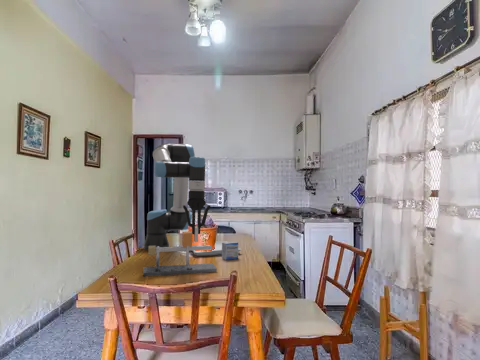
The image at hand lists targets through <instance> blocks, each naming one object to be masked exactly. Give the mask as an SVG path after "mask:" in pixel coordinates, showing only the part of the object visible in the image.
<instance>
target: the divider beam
mask: <svg viewBox="0 0 480 360" xmlns="http://www.w3.org/2000/svg"><path fill="white" fill-rule="evenodd" d="M193 250H211V246H210V245H206V246H192V247H189V252H190V251H192V252H193ZM147 251H148V254H147V255H148V256H156V258H155V260H156V261H155V262H156V263H155V266H156V268H157V269H158V268H159V266H160V253H163V252H164V253H165V252H166V253H167V252H186V247H183V245H182V246H169V247H159V246H157V247H156V246H149V248H148V250H147Z"/></svg>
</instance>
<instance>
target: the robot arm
mask: <svg viewBox="0 0 480 360" xmlns="http://www.w3.org/2000/svg"><path fill="white" fill-rule="evenodd" d="M194 149H195V148H194V146H193V145H192V144H187V143H171V142H170V143H169V142H167V143H162V144H159V145H157V146H156V147H155V148H154V149H153V151H152V157H153V160H154V169H153V171H154V176H155V177H157V178H173V181H174V182H173V185H174V186H173V205H172V207H171V208H170V211H168V210H167V209H165V208H164V209H155V210H151V211H149V212H148V213H147V216H146V220H147V223H146V224H147V225H146V238H145V241H144V243H143V249H144V250H146V251H148V248H149V246H156V247H157V246H159V247H170V243H169V239H168V236H167V231H187V230H188V226H190V227H191V232H192V235H193V241H194V243H195V242H199V235H201V229H202V227H203V226H205V224H206V220H207V217H208V214H209V213H208V212H209V210H210V208H211V205H210V204H207V203H206V198H205V197H206V192H205V190H206V159H205V157H203V156H196V155H195V150H194ZM203 208H205V209H204V212H203V216H202V210H203ZM190 210H191V211H190ZM196 211H197V220H196ZM201 219H202V220H201ZM196 221H197V222H196ZM196 224H197V226H196Z"/></svg>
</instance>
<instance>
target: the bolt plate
mask: <svg viewBox="0 0 480 360" xmlns="http://www.w3.org/2000/svg"><path fill="white" fill-rule="evenodd" d="M217 269H218V268H217V267H216V266H215V264H214V263H212V262H211V263H195V264H190V263H189V266H188V267H186V264H175V265H159V268H158V269H157V268H156V265H155V266H153V265H152V266H144V267H143V271H142V273H143V274H142V277H156V276H159V277H160V276H172V275H173V276H174V275H176V276H177V275H187V274H188V275H189V274H191V273H192V274H205V273H218V272H217Z"/></svg>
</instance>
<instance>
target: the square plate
mask: <svg viewBox="0 0 480 360" xmlns="http://www.w3.org/2000/svg"><path fill="white" fill-rule="evenodd" d="M226 242H229V241H227V240H216V243H215V249H214V250H212V251H207V252H198V251H195V250H193V251H192V253H193V254H194V255H195V256H196V257H208V256H209V257H211V256H222V243H226ZM241 251H242V248H241V247H239V246H238V253H240V252H241Z"/></svg>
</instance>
